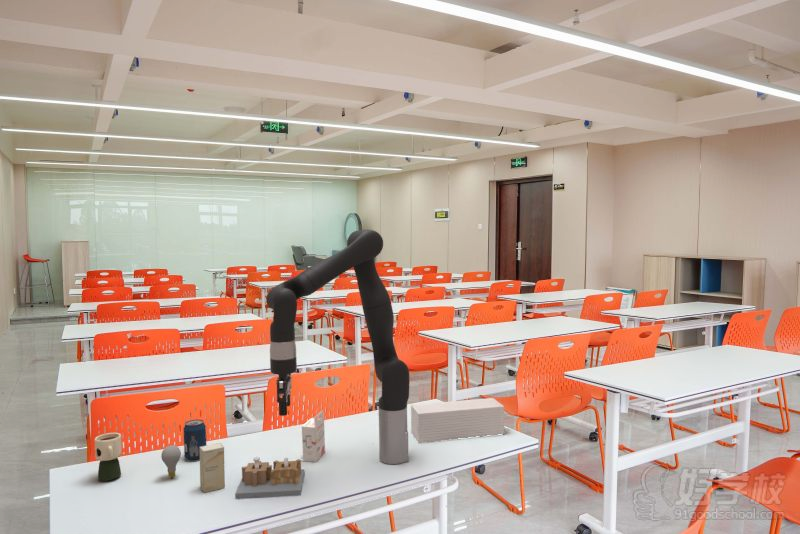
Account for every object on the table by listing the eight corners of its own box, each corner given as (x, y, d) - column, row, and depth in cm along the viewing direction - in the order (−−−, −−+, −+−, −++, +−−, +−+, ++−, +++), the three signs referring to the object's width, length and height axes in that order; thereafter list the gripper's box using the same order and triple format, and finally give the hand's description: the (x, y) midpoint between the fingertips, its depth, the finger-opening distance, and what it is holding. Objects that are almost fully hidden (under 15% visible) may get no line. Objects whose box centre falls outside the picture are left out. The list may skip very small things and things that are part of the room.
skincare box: (203, 493, 159) (202, 451, 158) (199, 487, 163) (198, 446, 162) (225, 487, 162) (224, 446, 162) (221, 481, 166) (220, 442, 165)
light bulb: (163, 483, 166) (161, 450, 165) (161, 476, 170) (160, 444, 170) (182, 479, 168) (181, 447, 167) (180, 472, 173) (179, 441, 172)
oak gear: (301, 472, 169) (301, 459, 168) (299, 484, 161) (298, 470, 160) (274, 473, 168) (273, 460, 168) (270, 485, 160) (269, 472, 160)
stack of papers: (492, 425, 212) (492, 397, 211) (504, 435, 202) (504, 406, 201) (411, 433, 205) (410, 404, 204) (418, 444, 195) (418, 413, 194)
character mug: (94, 475, 172) (92, 433, 171) (120, 469, 176) (118, 429, 175) (98, 488, 163) (96, 444, 162) (125, 481, 167) (123, 439, 166)
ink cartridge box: (311, 451, 189) (310, 408, 188) (325, 452, 188) (324, 409, 187) (302, 461, 180) (300, 416, 179) (316, 462, 179) (315, 417, 178)
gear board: (304, 473, 171) (304, 448, 170) (300, 495, 157) (299, 467, 156) (244, 477, 169) (243, 450, 169) (235, 498, 155) (234, 470, 155)
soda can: (201, 452, 189) (199, 417, 189) (210, 457, 184) (209, 422, 184) (181, 457, 184) (179, 422, 184) (190, 463, 180) (188, 427, 179)
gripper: (293, 360, 155) (295, 417, 156) (298, 350, 170) (300, 402, 171) (266, 361, 155) (268, 419, 156) (273, 351, 169) (275, 403, 170)
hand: (284, 410), depth 163 cm, fingers open, 8 cm apart
